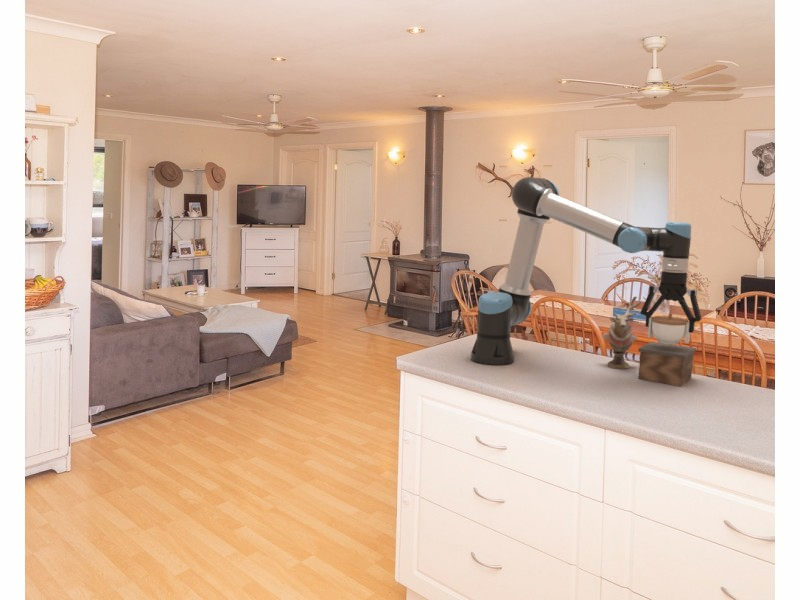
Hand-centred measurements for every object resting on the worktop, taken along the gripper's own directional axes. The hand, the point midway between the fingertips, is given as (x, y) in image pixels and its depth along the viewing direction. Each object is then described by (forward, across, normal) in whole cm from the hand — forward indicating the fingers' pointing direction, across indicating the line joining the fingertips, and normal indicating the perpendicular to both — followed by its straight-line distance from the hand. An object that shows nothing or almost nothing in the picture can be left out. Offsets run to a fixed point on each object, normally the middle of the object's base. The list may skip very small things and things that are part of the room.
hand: (668, 339), depth 204 cm
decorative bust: (+13, -17, +4) cm, 22 cm away
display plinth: (+13, 0, 0) cm, 13 cm away
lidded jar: (+1, 0, 0) cm, 1 cm away
